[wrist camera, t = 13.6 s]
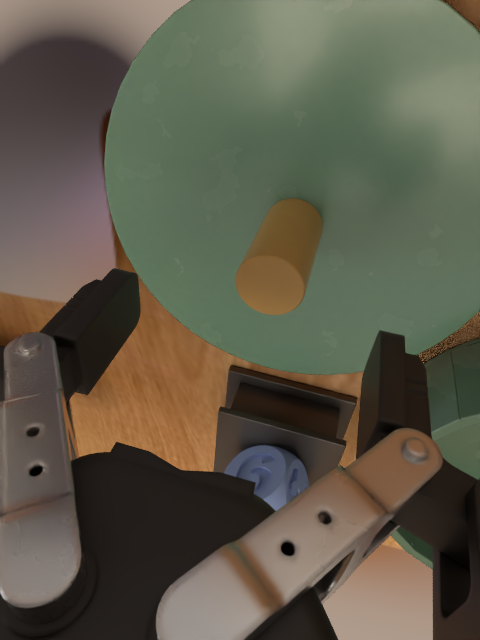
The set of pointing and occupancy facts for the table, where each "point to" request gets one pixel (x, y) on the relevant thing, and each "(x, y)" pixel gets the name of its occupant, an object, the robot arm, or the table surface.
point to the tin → (451, 422)
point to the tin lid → (303, 175)
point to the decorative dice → (271, 473)
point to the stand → (282, 420)
